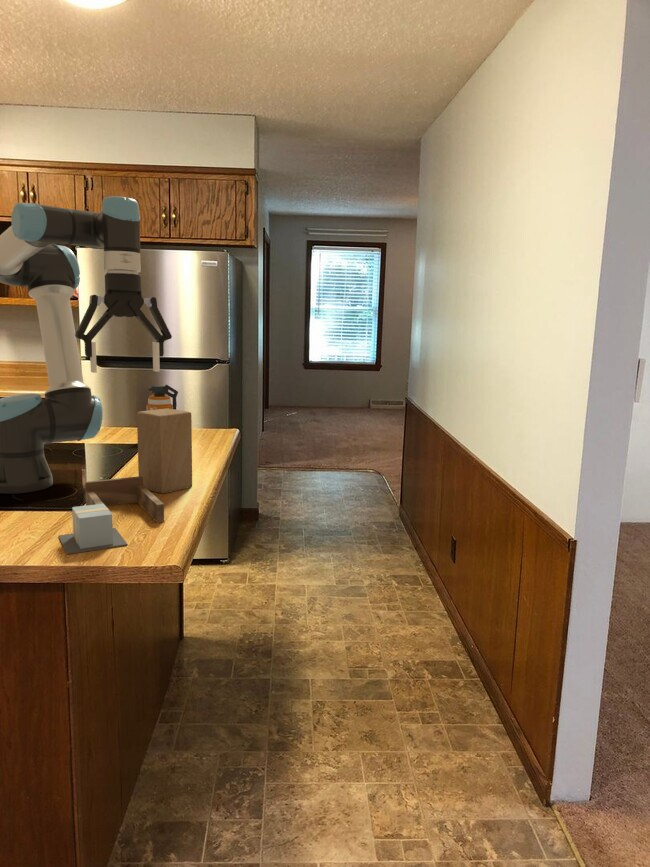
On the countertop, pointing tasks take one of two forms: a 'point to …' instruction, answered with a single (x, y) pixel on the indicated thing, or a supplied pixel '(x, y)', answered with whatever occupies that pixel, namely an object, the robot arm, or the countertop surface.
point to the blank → (92, 525)
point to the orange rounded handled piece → (161, 398)
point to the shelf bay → (124, 494)
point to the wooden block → (165, 449)
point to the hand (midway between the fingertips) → (125, 371)
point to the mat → (73, 547)
